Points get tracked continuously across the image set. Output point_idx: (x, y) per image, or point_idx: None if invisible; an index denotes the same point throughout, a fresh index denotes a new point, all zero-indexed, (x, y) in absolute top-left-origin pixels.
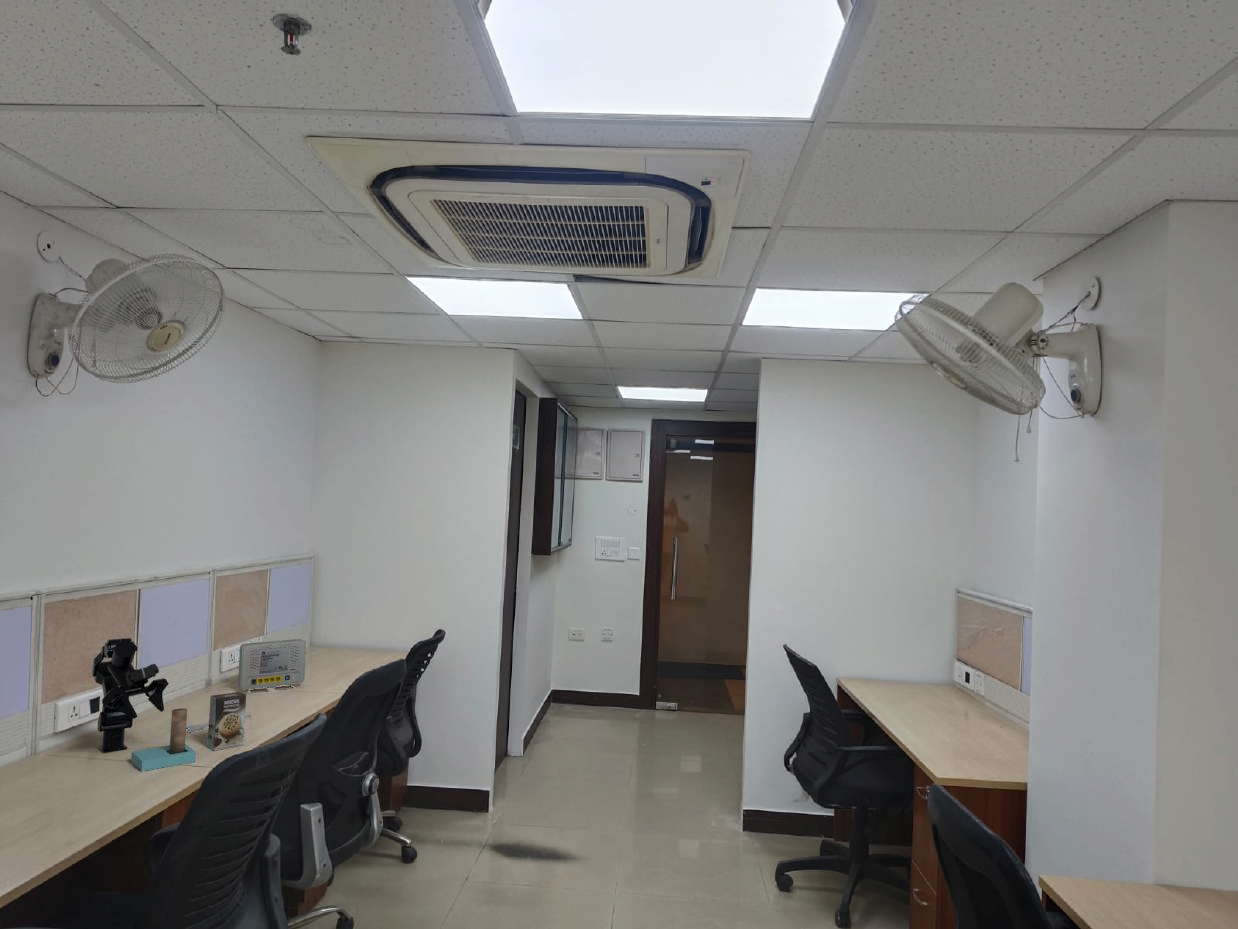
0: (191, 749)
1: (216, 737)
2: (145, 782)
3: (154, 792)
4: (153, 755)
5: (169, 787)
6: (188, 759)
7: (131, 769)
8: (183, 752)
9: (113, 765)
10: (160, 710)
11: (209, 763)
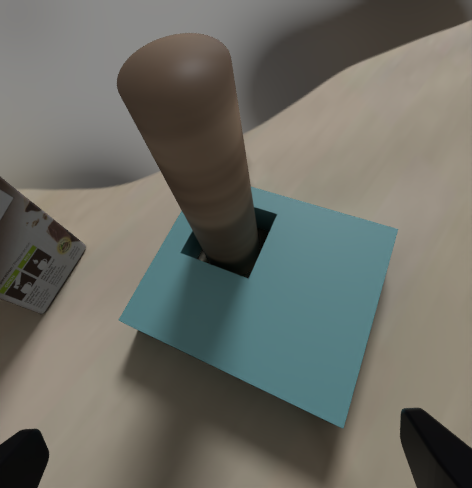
0: None
1: (51, 219)
2: (434, 147)
3: (458, 66)
4: (322, 260)
5: (408, 71)
6: None
7: (393, 314)
8: None
9: None
10: (37, 472)
11: None
